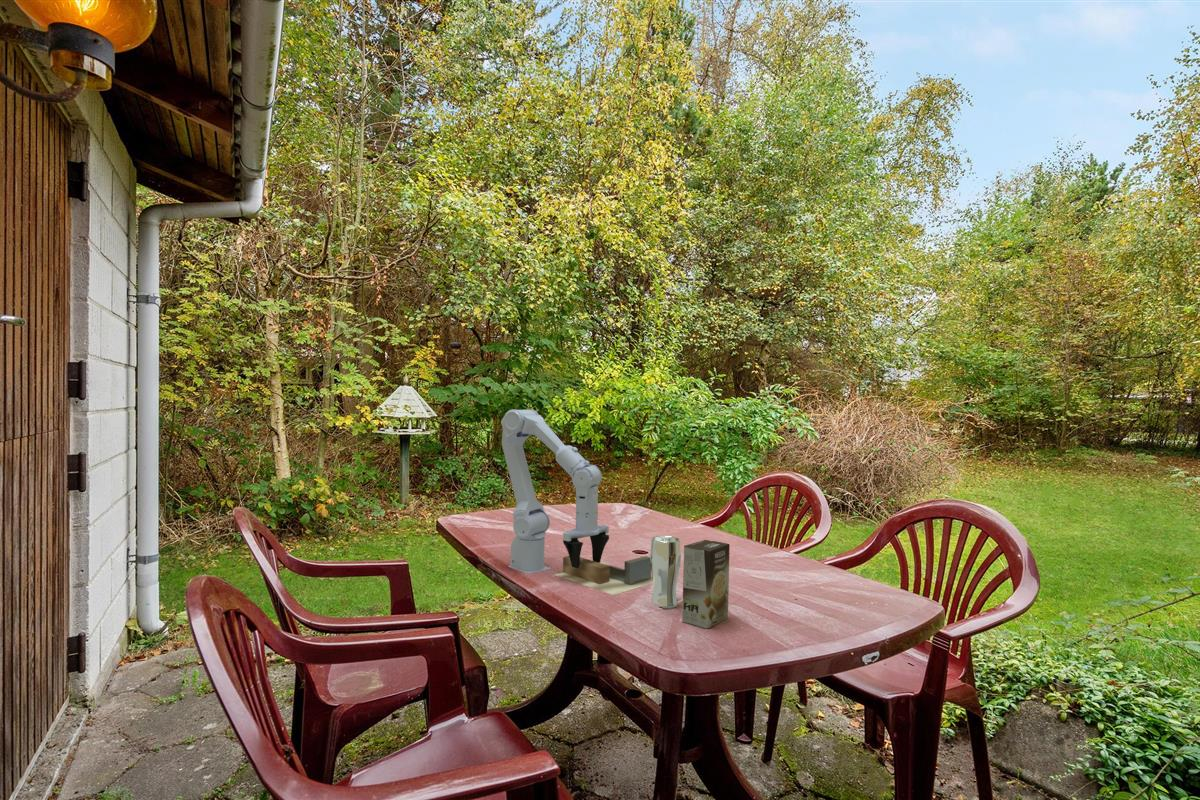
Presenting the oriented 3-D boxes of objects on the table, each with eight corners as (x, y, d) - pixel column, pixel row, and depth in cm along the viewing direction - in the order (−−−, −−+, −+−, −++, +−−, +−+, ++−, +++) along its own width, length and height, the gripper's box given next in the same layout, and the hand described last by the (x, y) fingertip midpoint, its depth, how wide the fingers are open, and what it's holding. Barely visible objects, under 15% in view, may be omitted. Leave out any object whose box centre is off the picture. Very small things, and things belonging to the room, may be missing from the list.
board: (553, 576, 153) (553, 574, 153) (601, 564, 166) (602, 562, 166) (613, 597, 138) (613, 595, 138) (662, 582, 150) (662, 579, 150)
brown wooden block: (562, 572, 155) (563, 557, 155) (572, 569, 158) (572, 555, 158) (599, 584, 145) (599, 568, 146) (609, 581, 148) (609, 565, 148)
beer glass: (644, 606, 132) (645, 539, 132) (656, 597, 138) (657, 534, 138) (673, 611, 129) (674, 543, 129) (684, 602, 135) (685, 537, 135)
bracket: (607, 578, 151) (607, 556, 151) (628, 572, 157) (628, 551, 157) (630, 585, 145) (630, 563, 145) (650, 578, 151) (651, 557, 151)
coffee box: (708, 629, 119) (709, 551, 119) (681, 622, 123) (682, 545, 123) (729, 617, 126) (730, 543, 126) (702, 610, 130) (704, 538, 130)
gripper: (576, 518, 144) (575, 573, 144) (617, 511, 154) (616, 562, 154) (558, 514, 149) (557, 567, 149) (598, 507, 159) (597, 557, 159)
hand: (586, 564), depth 152 cm, fingers open, 7 cm apart
